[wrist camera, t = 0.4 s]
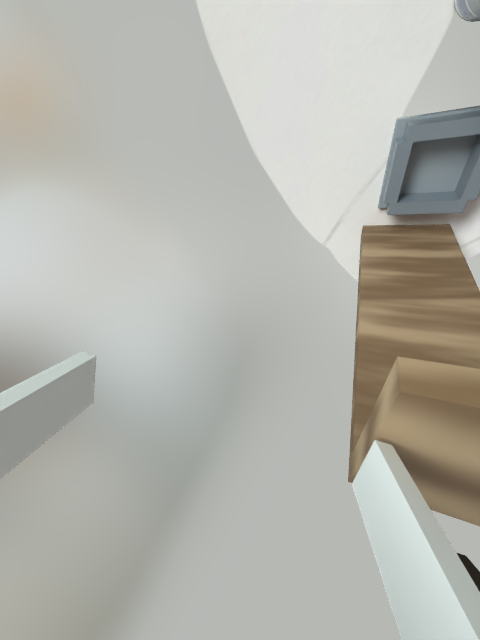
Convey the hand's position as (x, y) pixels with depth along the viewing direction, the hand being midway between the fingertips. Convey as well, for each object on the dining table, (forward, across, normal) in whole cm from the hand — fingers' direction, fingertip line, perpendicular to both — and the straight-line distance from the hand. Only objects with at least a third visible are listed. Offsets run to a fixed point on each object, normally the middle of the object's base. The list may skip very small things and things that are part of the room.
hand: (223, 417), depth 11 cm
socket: (+28, +16, +23) cm, 39 cm away
